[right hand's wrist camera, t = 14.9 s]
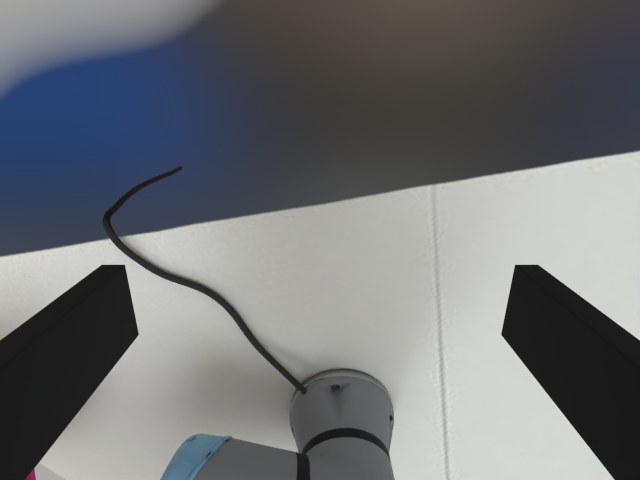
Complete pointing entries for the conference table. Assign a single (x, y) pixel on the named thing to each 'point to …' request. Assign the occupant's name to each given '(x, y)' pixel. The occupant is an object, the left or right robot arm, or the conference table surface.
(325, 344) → the conference table surface
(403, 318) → the conference table surface
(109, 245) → the conference table surface
